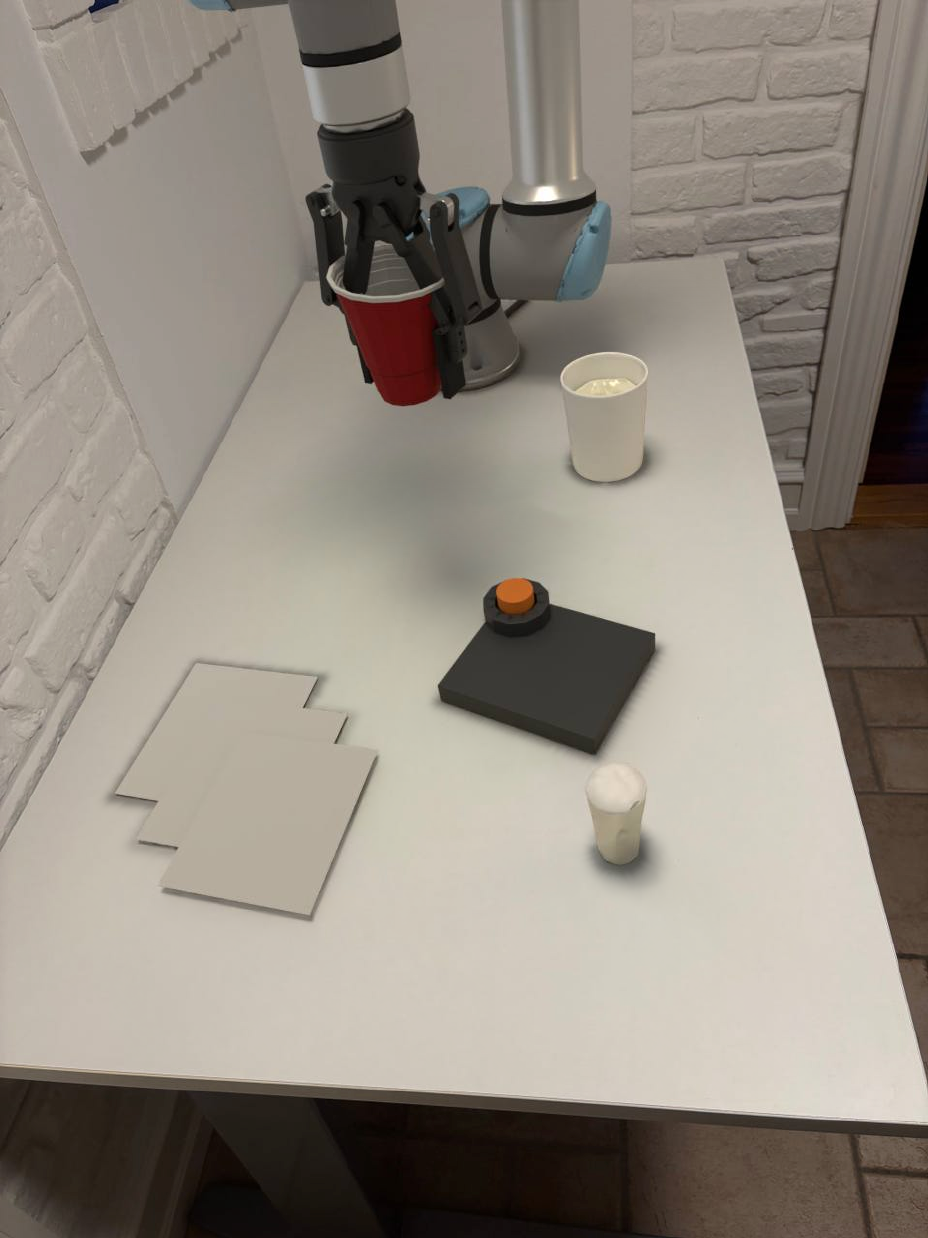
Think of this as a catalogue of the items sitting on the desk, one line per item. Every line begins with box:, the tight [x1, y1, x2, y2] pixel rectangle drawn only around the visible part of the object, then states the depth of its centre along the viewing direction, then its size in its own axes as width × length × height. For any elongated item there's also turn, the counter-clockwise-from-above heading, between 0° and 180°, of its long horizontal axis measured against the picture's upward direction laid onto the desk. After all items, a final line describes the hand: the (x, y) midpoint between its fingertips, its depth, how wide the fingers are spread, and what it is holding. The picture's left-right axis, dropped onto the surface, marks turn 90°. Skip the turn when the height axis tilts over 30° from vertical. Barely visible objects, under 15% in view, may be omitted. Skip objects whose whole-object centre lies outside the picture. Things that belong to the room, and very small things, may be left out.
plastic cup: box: [326, 243, 445, 407], centre depth 84 cm, size 11×11×12 cm
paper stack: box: [114, 662, 379, 916], centre depth 87 cm, size 23×25×1 cm
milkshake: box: [584, 761, 648, 866], centre depth 73 cm, size 4×5×10 cm
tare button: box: [496, 577, 534, 615], centre depth 94 cm, size 4×4×2 cm
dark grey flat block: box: [437, 577, 656, 755], centre depth 91 cm, size 15×17×4 cm
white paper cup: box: [559, 351, 649, 483], centre depth 111 cm, size 10×10×12 cm
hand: (414, 383), depth 88 cm, fingers closed on plastic cup, 8 cm apart
